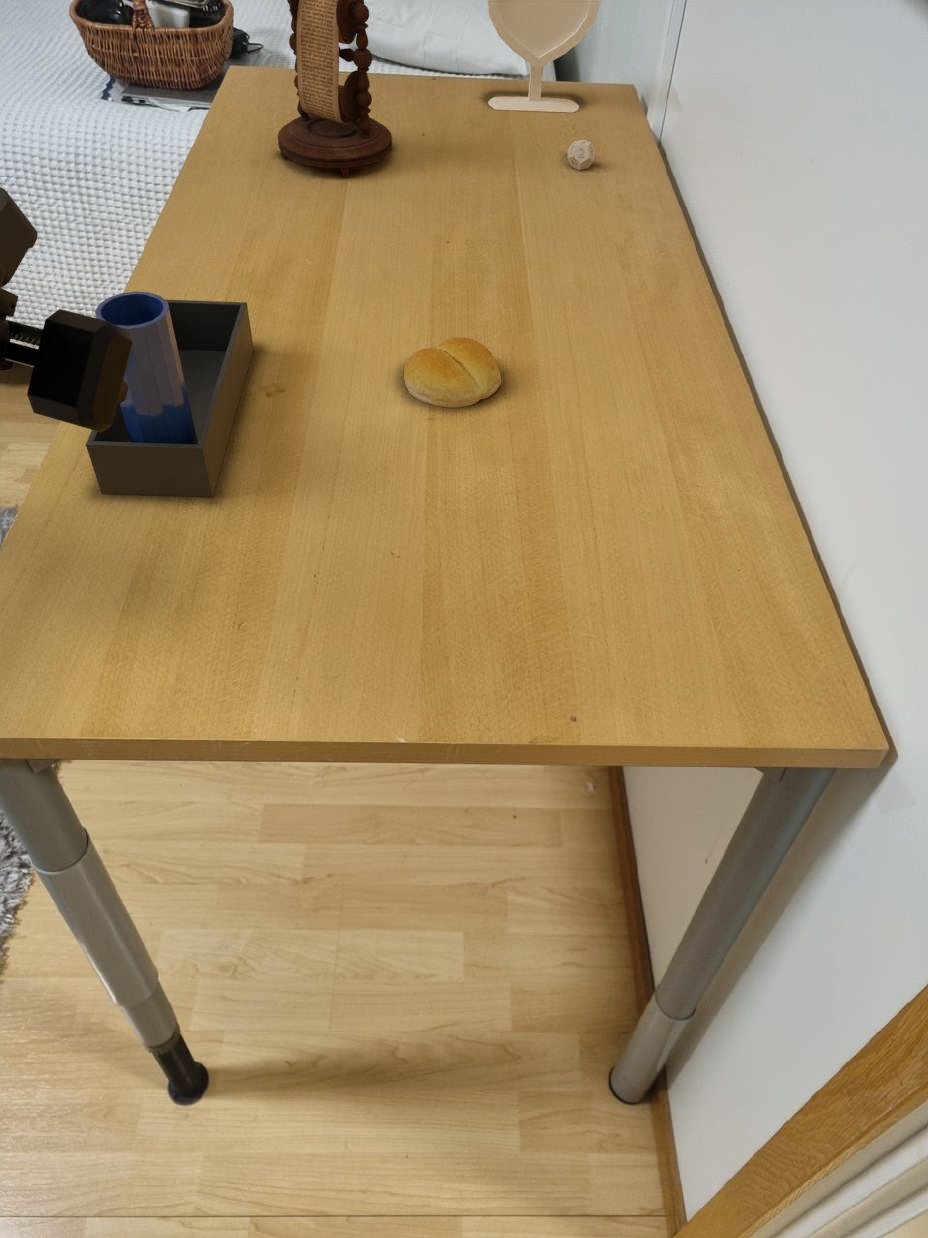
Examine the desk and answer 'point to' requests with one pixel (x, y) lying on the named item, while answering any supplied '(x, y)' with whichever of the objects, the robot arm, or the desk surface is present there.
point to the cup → (151, 370)
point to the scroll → (332, 89)
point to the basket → (214, 384)
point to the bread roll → (452, 373)
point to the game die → (581, 154)
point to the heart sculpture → (540, 42)
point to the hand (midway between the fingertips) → (67, 377)
